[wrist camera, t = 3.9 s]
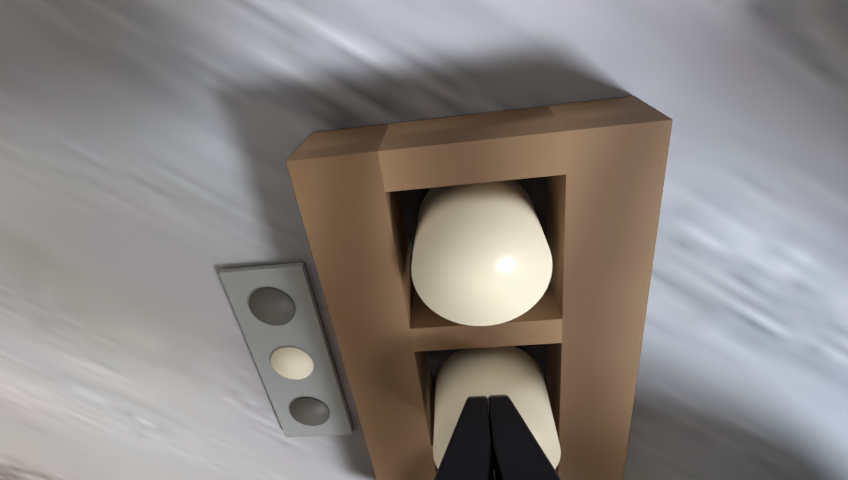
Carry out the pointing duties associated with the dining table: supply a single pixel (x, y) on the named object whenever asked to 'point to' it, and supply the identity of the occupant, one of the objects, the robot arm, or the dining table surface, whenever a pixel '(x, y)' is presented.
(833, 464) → the dining table surface
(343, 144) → the wooden compartment tray
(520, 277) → the button
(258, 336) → the card
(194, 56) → the dining table surface
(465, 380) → the button
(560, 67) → the dining table surface
